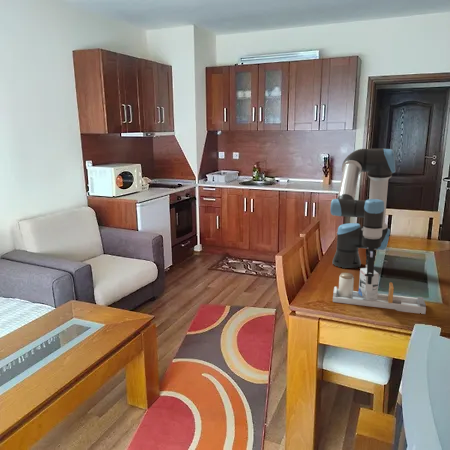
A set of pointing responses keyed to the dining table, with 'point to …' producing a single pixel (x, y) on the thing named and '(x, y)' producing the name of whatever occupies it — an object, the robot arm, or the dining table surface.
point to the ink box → (362, 283)
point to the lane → (385, 302)
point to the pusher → (390, 295)
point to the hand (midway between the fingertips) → (368, 285)
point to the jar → (346, 285)
